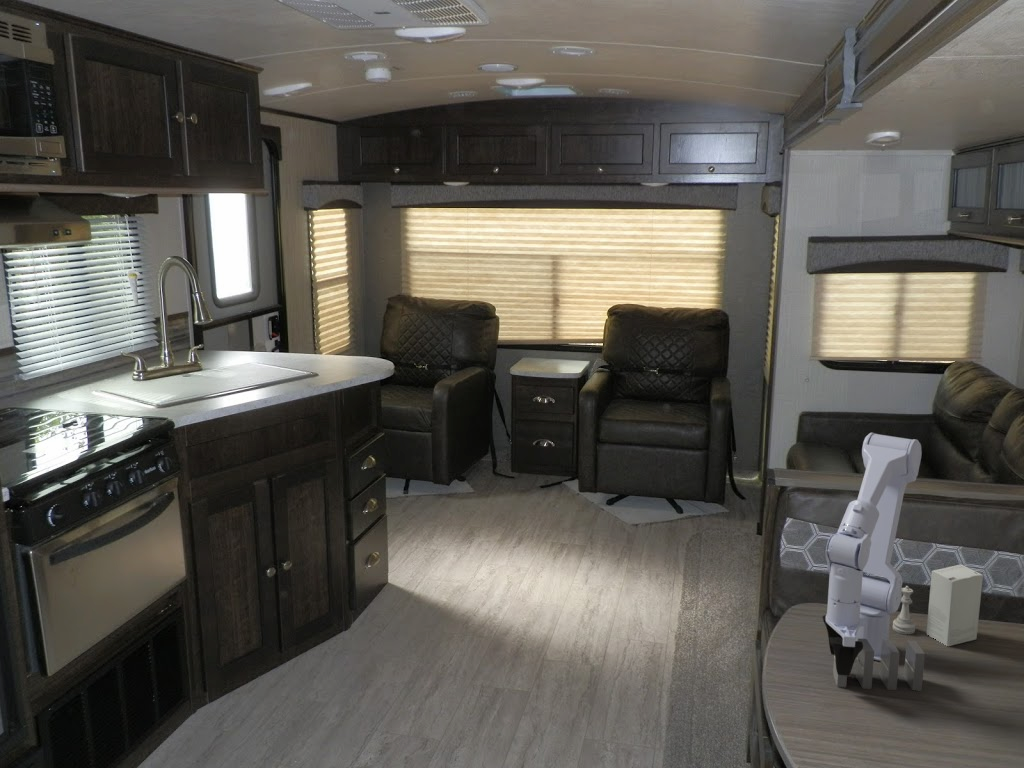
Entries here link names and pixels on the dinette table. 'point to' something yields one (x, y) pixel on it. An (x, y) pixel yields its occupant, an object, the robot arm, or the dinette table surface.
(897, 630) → the chess piece
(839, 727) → the dinette table surface
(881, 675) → the domino
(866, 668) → the domino
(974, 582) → the skincare box
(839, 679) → the domino
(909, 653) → the domino
